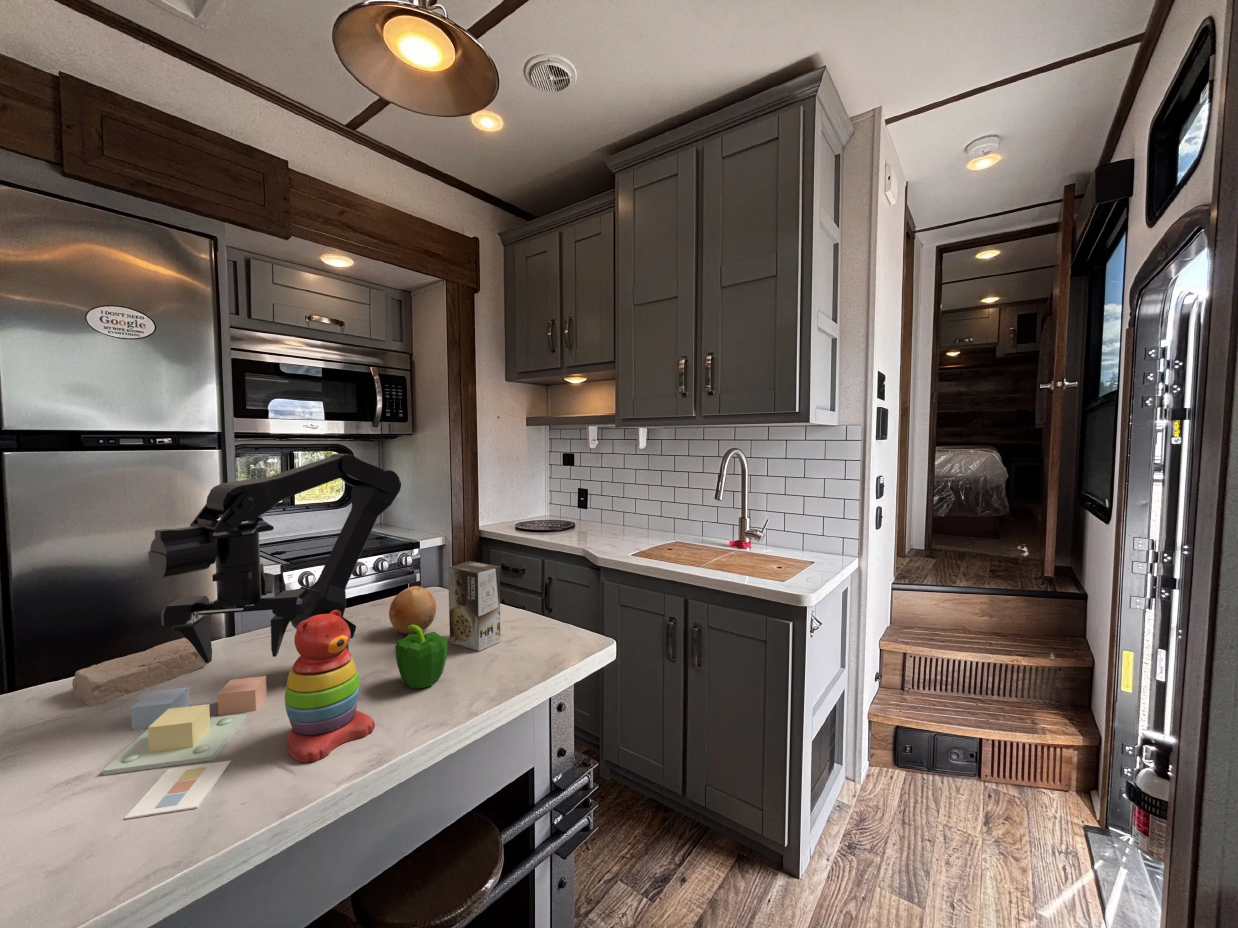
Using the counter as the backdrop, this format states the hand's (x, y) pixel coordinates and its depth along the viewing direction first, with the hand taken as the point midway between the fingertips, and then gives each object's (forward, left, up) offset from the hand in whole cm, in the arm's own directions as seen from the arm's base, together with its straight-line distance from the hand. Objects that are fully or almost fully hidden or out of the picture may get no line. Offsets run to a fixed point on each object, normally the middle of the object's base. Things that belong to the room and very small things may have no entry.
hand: (242, 658), depth 85 cm
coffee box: (-36, -17, -8) cm, 40 cm away
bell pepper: (-27, -1, -8) cm, 28 cm away
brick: (+20, -14, -8) cm, 26 cm away
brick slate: (+10, +1, -8) cm, 13 cm away
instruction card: (-1, +21, -8) cm, 22 cm away
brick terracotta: (0, 0, -8) cm, 8 cm away
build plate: (+4, +10, -8) cm, 13 cm away
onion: (-23, -26, -8) cm, 35 cm away
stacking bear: (-15, +13, -8) cm, 21 cm away
